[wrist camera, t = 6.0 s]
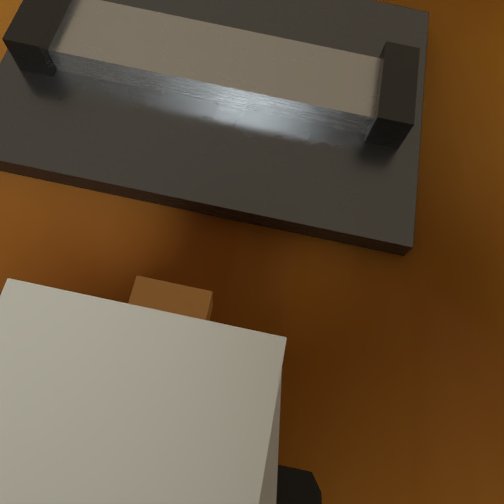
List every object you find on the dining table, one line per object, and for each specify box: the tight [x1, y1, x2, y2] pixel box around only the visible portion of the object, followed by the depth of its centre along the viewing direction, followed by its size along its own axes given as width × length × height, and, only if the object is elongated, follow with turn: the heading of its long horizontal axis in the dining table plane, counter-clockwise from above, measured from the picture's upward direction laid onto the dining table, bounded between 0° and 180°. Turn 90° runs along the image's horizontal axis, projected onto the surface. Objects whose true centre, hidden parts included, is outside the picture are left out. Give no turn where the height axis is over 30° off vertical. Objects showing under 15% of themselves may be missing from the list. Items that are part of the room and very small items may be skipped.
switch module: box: [0, 276, 287, 504], centre depth 11 cm, size 9×4×11 cm, turn 169°
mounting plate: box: [0, 0, 429, 256], centre depth 21 cm, size 20×14×3 cm
